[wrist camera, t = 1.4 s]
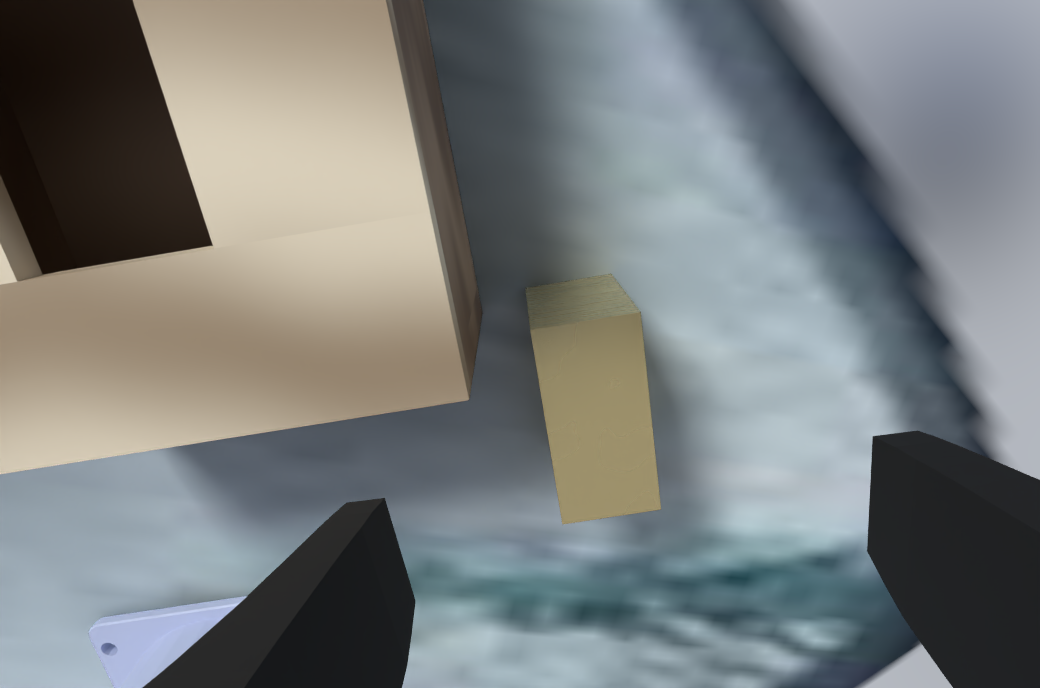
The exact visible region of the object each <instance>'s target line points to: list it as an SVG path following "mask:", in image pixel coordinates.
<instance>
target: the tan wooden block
mask: <svg viewBox="0 0 1040 688" xmlns="http://www.w3.org/2000/svg"><path fill="white" fill-rule="evenodd" d="M526 297H527V306H528V315H529V324H530V332H531V338H532V344H533V350H534V356H535V362H536V368H537V374H538V380H539V386H540V392H541V398H542V404H543V410H544V416H545V422H546V428H547V434H548V440H549V446H550V452H551V458H552V464H553V470H554V476H555V482H556V488H557V494H558V500H559V506H560V512H561V518H562V524H568V523H575V522H581V521H588V520H595V519H601V518H608V517H615V516H621V515H628V514H635V513H641V512H648V511H655V510H661V504H660V495H659V485H658V475H657V466H656V456H655V447H654V437H653V427H652V418H651V408H650V398H649V389H648V379H647V370H646V360H645V350H644V341H643V331H642V321H641V312H640V311H639V309H638V308H637V307H636V306H635V304H634V303H633V302H632V300H631V299H630V298H629V296H628V295H627V294H626V292H625V291H624V290H623V289H622V287H621V286H620V285H619V283H618V282H617V281H616V279H615V278H614V277H613V276H612V274H608V275H601V276H595V277H589V278H583V279H577V280H571V281H565V282H559V283H553V284H547V285H540V286H534V287H528V288H526Z"/></svg>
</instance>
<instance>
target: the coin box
mask: <svg viewBox="0 0 1040 688" xmlns="http://www.w3.org/2000/svg"><path fill="white" fill-rule="evenodd" d="M481 320H482V308H481V302H480V297H479V292H478V287H477V281H476V276H475V271H474V266H473V260H472V255H471V250H470V245H469V240H468V234H467V229H466V224H465V219H464V213H463V208H462V203H461V198H460V192H459V187H458V182H457V177H456V171H455V166H454V161H453V156H452V150H451V145H450V140H449V135H448V129H447V124H446V119H445V114H444V108H443V103H442V98H441V93H440V87H439V82H438V77H437V72H436V67H435V61H434V56H433V51H432V46H431V40H430V35H429V30H428V25H427V19H426V14H425V9H424V4H423V0H0V474H5V473H11V472H18V471H24V470H30V469H37V468H43V467H49V466H56V465H62V464H68V463H75V462H81V461H87V460H94V459H100V458H106V457H113V456H119V455H125V454H132V453H138V452H144V451H151V450H157V449H163V448H170V447H176V446H182V445H189V444H195V443H201V442H208V441H214V440H220V439H227V438H233V437H239V436H246V435H252V434H258V433H265V432H271V431H277V430H284V429H290V428H296V427H303V426H309V425H315V424H322V423H328V422H334V421H341V420H347V419H353V418H360V417H366V416H372V415H379V414H385V413H391V412H398V411H404V410H410V409H417V408H423V407H429V406H436V405H442V404H448V403H455V402H461V401H467V400H469V398H470V391H471V385H472V378H473V372H474V365H475V359H476V352H477V346H478V339H479V333H480V326H481Z"/></svg>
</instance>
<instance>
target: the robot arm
mask: <svg viewBox="0 0 1040 688" xmlns="http://www.w3.org/2000/svg"><path fill="white" fill-rule="evenodd" d="M867 552H868V554H869V555H870V557H871V559H872V561H873V563H874V565H875V567H876V569H877V571H878V573H879V574H880V576H881V578H882V580H883V582H884V584H885V586H886V588H887V589H888V591H889V593H890V595H891V597H892V598H893V600H894V602H895V604H896V605H897V607H898V609H899V611H900V612H901V614H902V616H903V618H904V619H905V621H906V622H907V623H908V625H909V626H910V628H911V629H912V631H913V632H914V634H915V635H916V636H917V638H918V639H919V641H920V642H921V643H922V645H923V646H924V648H925V649H926V650H927V652H928V653H929V654H930V656H931V658H932V659H933V660H934V662H935V663H936V664H937V666H938V667H939V669H940V670H941V672H942V673H943V674H944V676H945V677H946V679H947V680H948V681H949V683H950V684H951V685H952V687H953V688H1040V480H1038V479H1036V478H1034V477H1031V476H1029V475H1027V474H1024V473H1022V472H1020V471H1017V470H1015V469H1013V468H1010V467H1008V466H1006V465H1003V464H1001V463H999V462H996V461H994V460H991V459H989V458H987V457H984V456H982V455H980V454H977V453H975V452H972V451H970V450H968V449H965V448H963V447H960V446H958V445H955V444H953V443H950V442H948V441H945V440H943V439H940V438H937V437H935V436H932V435H929V434H926V433H923V432H920V431H911V432H903V433H895V434H888V435H880V436H873V444H872V464H871V485H870V505H869V526H868V546H867ZM414 609H415V598H414V594H413V591H412V588H411V584H410V581H409V578H408V574H407V571H406V568H405V564H404V561H403V558H402V554H401V551H400V548H399V544H398V541H397V538H396V534H395V531H394V528H393V524H392V521H391V518H390V514H389V511H388V508H387V504H386V501H385V498H381V499H373V500H365V501H357V502H349V503H346V504H345V505H343V506H342V507H341V508H340V509H339V510H338V511H336V512H335V513H334V514H333V515H332V516H331V517H330V518H329V519H328V520H327V521H325V522H324V523H323V524H322V525H321V526H320V527H319V528H318V529H317V530H316V531H315V532H314V533H313V534H312V535H311V536H310V537H309V538H308V539H307V540H306V541H305V542H303V543H302V544H301V545H300V546H299V547H298V548H297V549H296V550H295V551H294V552H293V553H292V554H291V555H290V556H289V557H288V558H287V559H286V560H285V561H284V562H283V563H282V564H281V565H280V566H279V567H277V568H276V569H275V570H274V571H273V572H272V573H271V574H270V575H269V576H268V577H267V578H266V579H265V580H264V581H263V582H262V583H261V584H260V585H259V586H258V587H256V588H255V589H254V590H253V591H252V592H251V593H250V594H249V595H248V596H243V597H236V598H229V599H223V600H216V601H209V602H202V603H196V604H189V605H182V606H175V607H169V608H162V609H155V610H148V611H142V612H135V613H128V614H121V615H115V616H108V617H103V618H100V619H98V620H97V621H96V622H95V624H94V625H93V626H92V627H91V628H90V630H89V633H88V634H89V638H90V640H91V642H92V644H93V646H94V648H95V650H96V652H97V654H98V656H99V658H100V660H101V662H102V664H103V666H104V668H105V670H106V672H107V674H108V676H109V678H110V680H111V682H112V684H113V686H114V688H402V685H403V681H404V676H405V672H406V668H407V662H408V655H409V648H410V641H411V634H412V626H413V617H414ZM113 644H114V645H113Z"/></svg>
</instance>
